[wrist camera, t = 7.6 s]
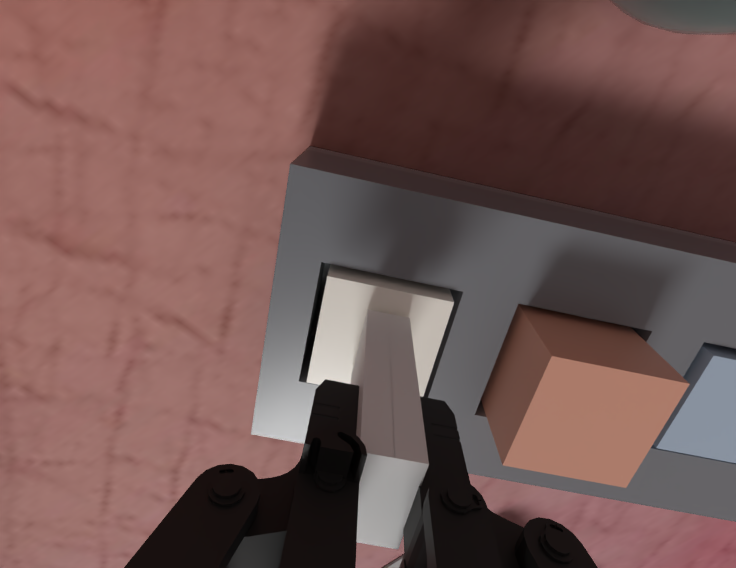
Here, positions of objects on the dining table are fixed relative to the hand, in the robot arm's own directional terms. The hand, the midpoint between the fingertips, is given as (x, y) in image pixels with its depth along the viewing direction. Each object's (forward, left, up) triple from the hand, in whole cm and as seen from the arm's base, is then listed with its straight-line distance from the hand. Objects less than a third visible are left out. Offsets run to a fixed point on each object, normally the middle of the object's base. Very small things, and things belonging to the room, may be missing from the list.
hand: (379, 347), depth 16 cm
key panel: (+7, 0, -5) cm, 9 cm away
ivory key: (0, 0, -4) cm, 4 cm away
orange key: (+7, 0, -1) cm, 7 cm away
